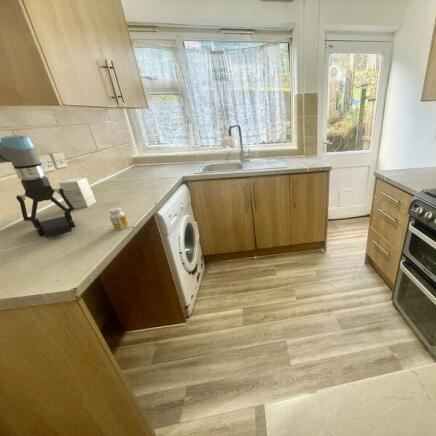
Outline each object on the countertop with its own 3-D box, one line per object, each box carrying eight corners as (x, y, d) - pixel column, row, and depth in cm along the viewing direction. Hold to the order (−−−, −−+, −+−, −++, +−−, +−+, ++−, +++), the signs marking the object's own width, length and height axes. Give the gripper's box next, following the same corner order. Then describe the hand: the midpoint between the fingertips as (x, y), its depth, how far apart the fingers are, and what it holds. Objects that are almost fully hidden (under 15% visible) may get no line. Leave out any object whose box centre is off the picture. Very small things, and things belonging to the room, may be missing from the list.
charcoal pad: (38, 228, 111) (35, 222, 110) (71, 220, 119) (69, 214, 118) (40, 239, 101) (37, 233, 100) (77, 230, 109) (74, 224, 108)
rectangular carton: (80, 203, 142) (68, 178, 135) (96, 202, 143) (86, 177, 137) (70, 209, 134) (57, 183, 127) (88, 207, 135) (76, 181, 129)
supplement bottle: (127, 225, 112) (120, 205, 108) (130, 228, 108) (123, 208, 104) (114, 229, 109) (106, 209, 105) (116, 233, 105) (108, 212, 101)
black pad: (44, 230, 104) (41, 224, 103) (68, 224, 109) (65, 218, 108) (46, 237, 98) (43, 231, 96) (71, 231, 103) (69, 224, 102)
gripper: (-8, 185, 85) (23, 242, 94) (69, 174, 99) (89, 224, 108) (-7, 181, 90) (22, 236, 99) (67, 171, 103) (86, 220, 113)
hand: (57, 230), depth 103 cm, fingers closed on black pad, 8 cm apart
